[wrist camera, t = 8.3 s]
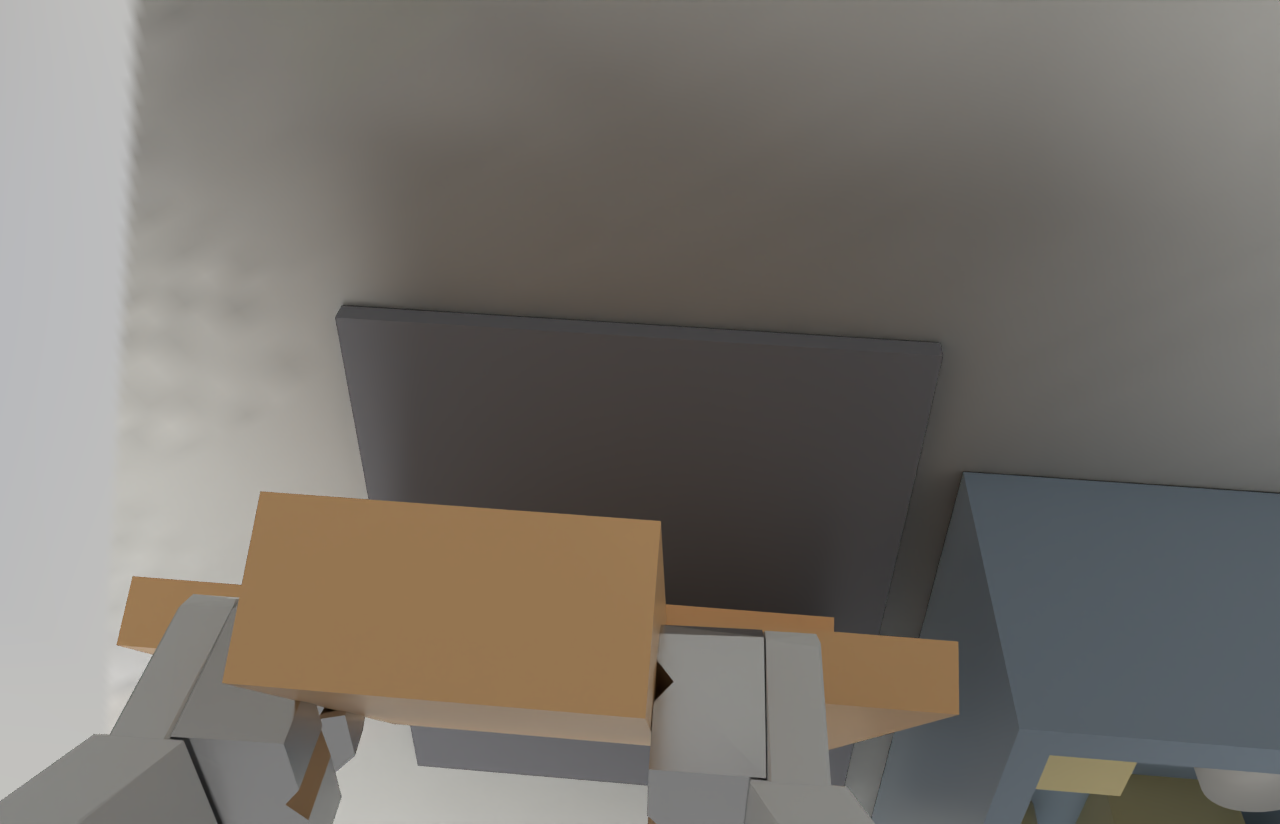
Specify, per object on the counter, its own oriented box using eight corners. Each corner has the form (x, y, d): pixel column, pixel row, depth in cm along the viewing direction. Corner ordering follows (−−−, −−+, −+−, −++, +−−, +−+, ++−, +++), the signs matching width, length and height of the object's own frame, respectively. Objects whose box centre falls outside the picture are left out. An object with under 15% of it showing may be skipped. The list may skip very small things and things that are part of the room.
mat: (940, 343, 20) (943, 356, 19) (839, 788, 28) (840, 802, 28) (341, 305, 20) (335, 317, 20) (421, 752, 29) (417, 765, 29)
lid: (1117, 501, 8) (1133, 759, 7) (810, 702, 26) (807, 782, 26) (-146, 410, 9) (-223, 645, 8) (415, 670, 27) (404, 747, 26)
